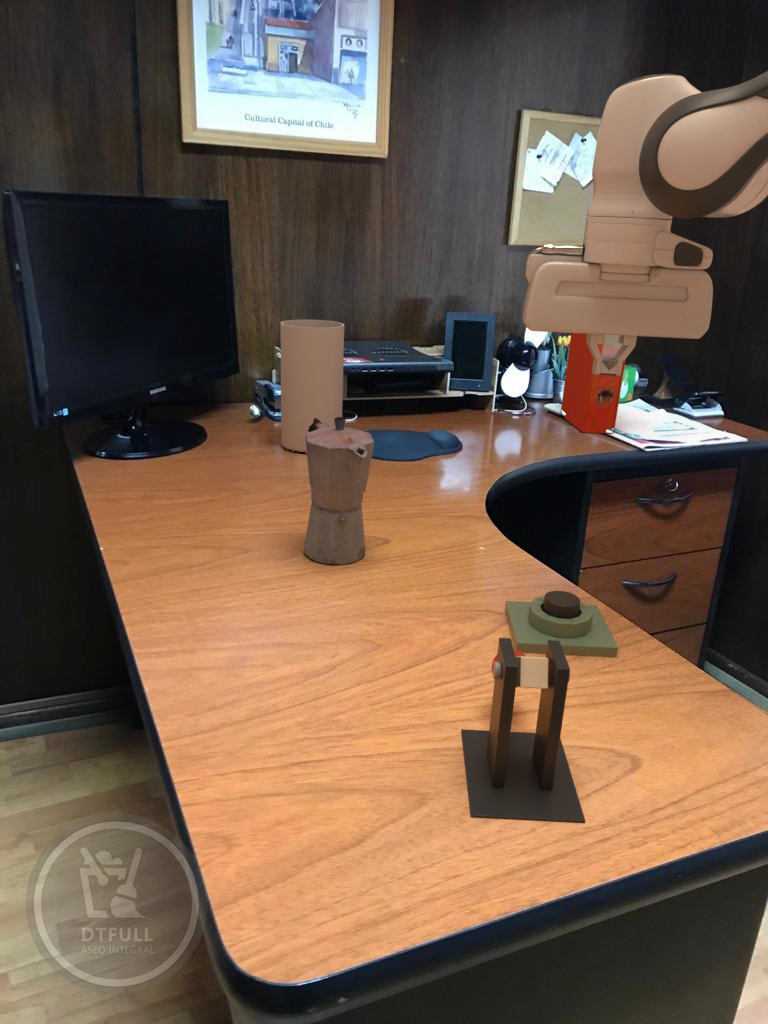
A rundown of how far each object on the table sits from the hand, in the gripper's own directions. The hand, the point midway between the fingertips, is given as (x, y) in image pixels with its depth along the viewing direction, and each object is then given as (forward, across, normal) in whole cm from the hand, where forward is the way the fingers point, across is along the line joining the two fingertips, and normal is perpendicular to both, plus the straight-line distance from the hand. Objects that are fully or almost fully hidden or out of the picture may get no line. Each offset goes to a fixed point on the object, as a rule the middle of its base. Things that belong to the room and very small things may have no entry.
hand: (606, 374), depth 88 cm
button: (+26, -4, -10) cm, 28 cm away
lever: (+22, -12, -31) cm, 40 cm away
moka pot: (+29, -32, +12) cm, 45 cm away
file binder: (+29, +23, +97) cm, 104 cm away
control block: (+29, -4, -10) cm, 31 cm away
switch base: (+29, -12, -35) cm, 47 cm away
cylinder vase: (+29, -41, +66) cm, 83 cm away
